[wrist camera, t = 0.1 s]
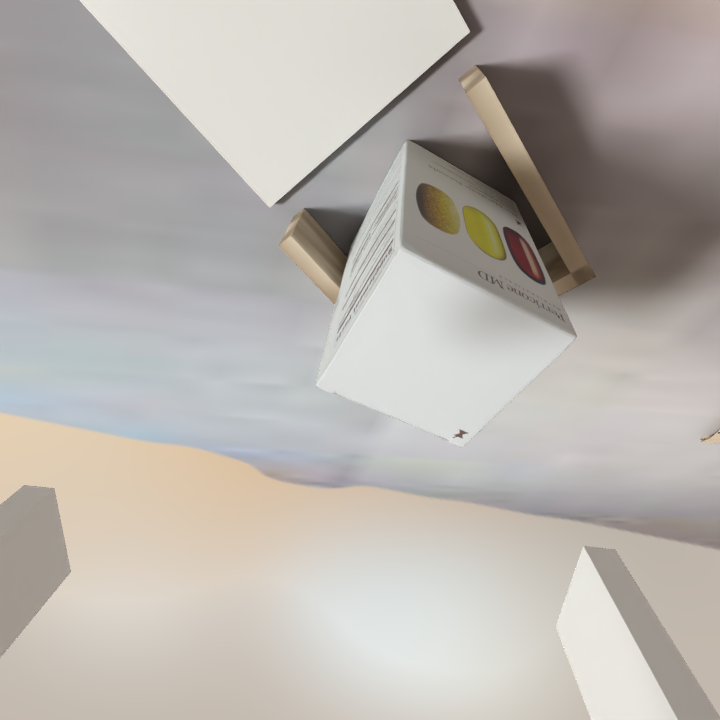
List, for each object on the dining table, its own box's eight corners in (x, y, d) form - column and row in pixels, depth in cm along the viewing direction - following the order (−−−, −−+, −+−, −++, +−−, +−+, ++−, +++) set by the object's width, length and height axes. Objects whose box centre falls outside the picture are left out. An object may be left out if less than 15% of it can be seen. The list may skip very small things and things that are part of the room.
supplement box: (519, 200, 33) (590, 340, 20) (448, 296, 38) (467, 454, 25) (403, 134, 30) (398, 241, 18) (346, 246, 36) (310, 390, 23)
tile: (258, -359, 19) (253, -371, 18) (468, 30, 27) (470, 31, 26) (66, -23, 27) (58, -23, 26) (272, 203, 34) (269, 207, 34)
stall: (475, 65, 28) (486, 77, 24) (574, 244, 34) (595, 276, 30) (293, 217, 35) (278, 245, 31) (404, 341, 41) (403, 377, 38)
